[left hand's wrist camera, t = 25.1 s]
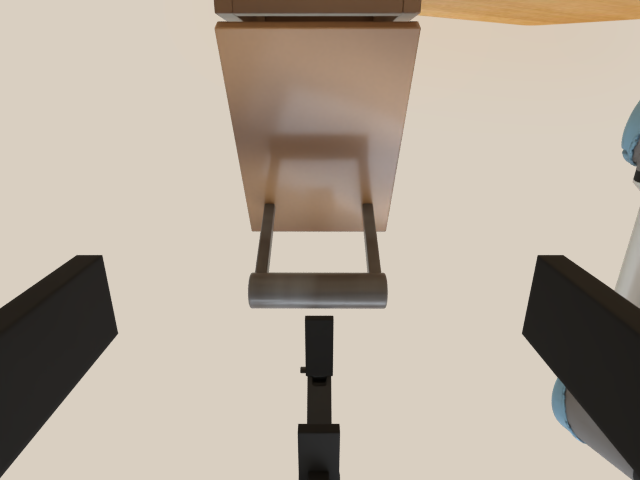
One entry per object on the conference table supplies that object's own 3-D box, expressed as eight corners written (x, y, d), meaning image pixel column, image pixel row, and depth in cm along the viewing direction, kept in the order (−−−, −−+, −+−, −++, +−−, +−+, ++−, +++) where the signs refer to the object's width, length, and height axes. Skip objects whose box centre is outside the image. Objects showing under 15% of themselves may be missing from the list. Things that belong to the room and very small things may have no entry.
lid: (384, 223, 30) (399, 328, 24) (253, 223, 30) (236, 328, 24) (418, 20, 20) (458, 120, 14) (217, 20, 20) (173, 120, 14)
